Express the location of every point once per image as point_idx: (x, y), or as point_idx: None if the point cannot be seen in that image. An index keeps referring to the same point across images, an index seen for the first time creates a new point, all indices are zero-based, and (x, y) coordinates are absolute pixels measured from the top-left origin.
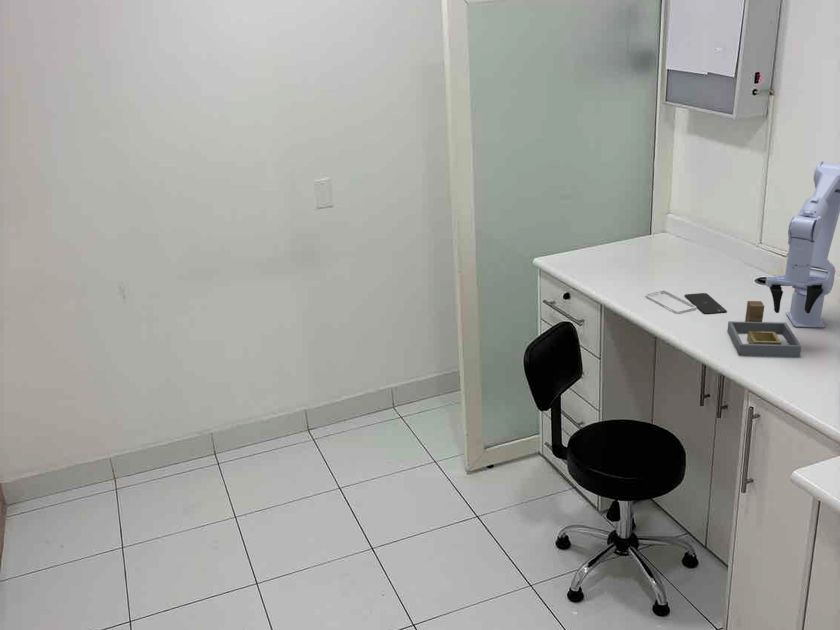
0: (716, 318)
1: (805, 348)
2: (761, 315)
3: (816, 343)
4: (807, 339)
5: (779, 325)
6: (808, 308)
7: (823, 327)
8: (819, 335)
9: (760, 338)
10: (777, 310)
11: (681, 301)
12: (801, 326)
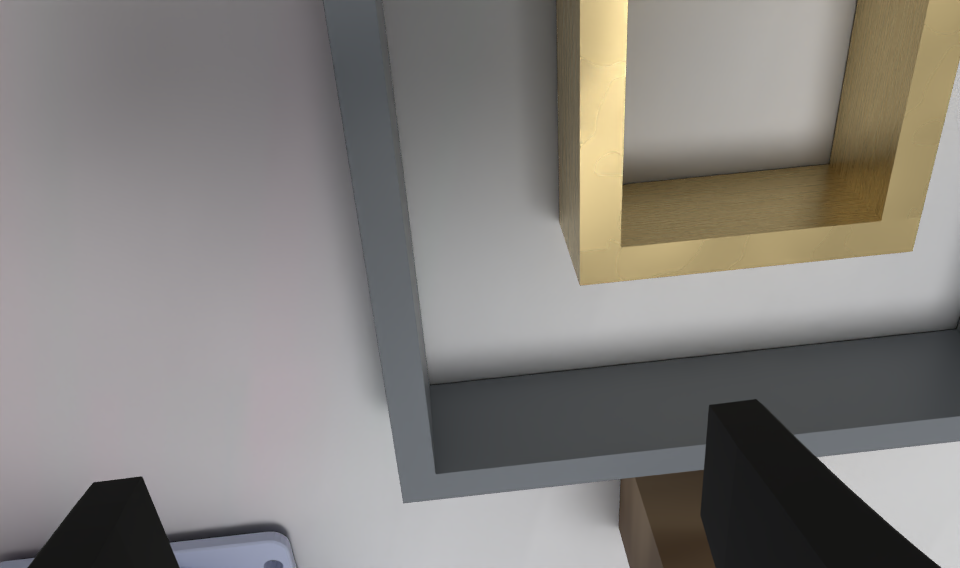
0: (946, 564)
1: (197, 52)
2: (682, 564)
3: (59, 218)
4: (166, 303)
5: (479, 451)
6: (94, 558)
7: (4, 561)
8: (36, 412)
9: (732, 192)
10: (773, 430)
11: None
12: (219, 541)
